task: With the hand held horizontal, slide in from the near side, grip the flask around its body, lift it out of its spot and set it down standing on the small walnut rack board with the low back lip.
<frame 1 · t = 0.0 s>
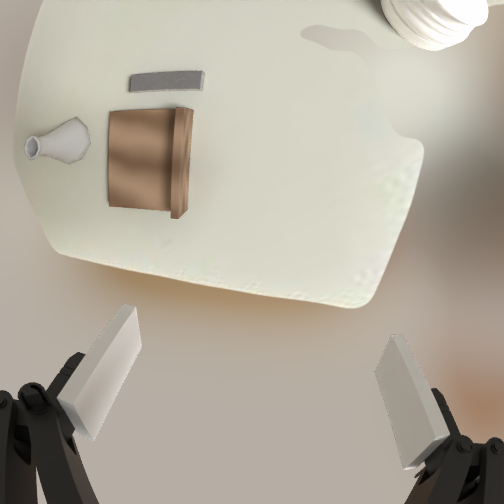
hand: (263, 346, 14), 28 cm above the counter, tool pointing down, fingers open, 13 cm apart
honey pot: (418, 14, 26), on the counter
flask: (74, 140, 37), on the counter
grey rectangular bar: (169, 82, 34), on the counter
rack: (149, 158, 38), on the counter
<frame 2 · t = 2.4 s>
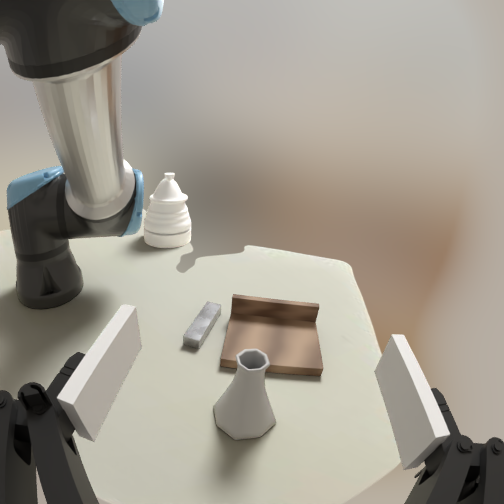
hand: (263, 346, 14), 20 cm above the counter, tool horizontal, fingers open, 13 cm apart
honey pot: (167, 239, 78), on the counter
flask: (244, 417, 31), on the counter
grey rectangular bar: (203, 329, 46), on the counter
rack: (272, 344, 43), on the counter
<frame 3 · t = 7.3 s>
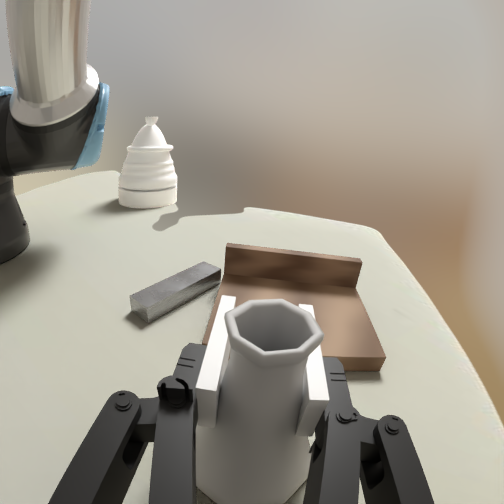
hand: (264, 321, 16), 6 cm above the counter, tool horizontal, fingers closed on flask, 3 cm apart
honey pot: (147, 201, 60), on the counter
flask: (247, 459, 13), on the counter, touching gripper
grey rectangular bar: (179, 299, 28), on the counter
rack: (291, 321, 26), on the counter
when the fingers open (9 cm above the counter, at t = 11.4 s): flask drops 1 cm, resting on rack.
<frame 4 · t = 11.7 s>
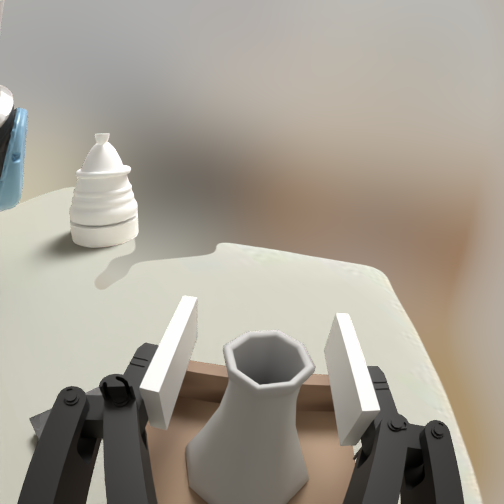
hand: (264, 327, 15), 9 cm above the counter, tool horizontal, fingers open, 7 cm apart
honey pot: (104, 234, 49), on the counter
flask: (245, 469, 14), point 1 cm above the counter, touching rack
grey rectangular bar: (97, 420, 17), on the counter
rack: (243, 475, 15), on the counter
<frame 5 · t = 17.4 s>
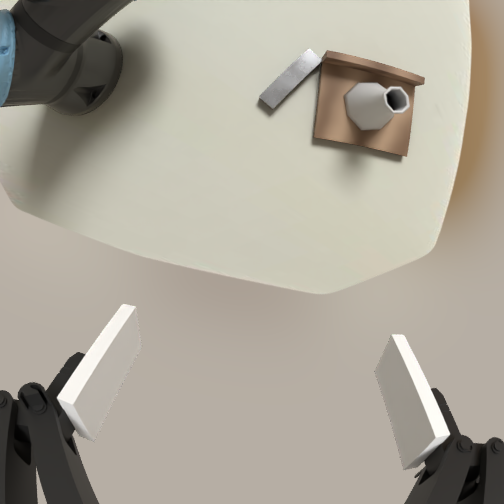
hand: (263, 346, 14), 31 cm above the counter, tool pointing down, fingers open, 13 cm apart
flask: (368, 106, 34), point 1 cm above the counter, touching rack
grey rectangular bar: (290, 79, 35), on the counter
rack: (365, 106, 36), on the counter
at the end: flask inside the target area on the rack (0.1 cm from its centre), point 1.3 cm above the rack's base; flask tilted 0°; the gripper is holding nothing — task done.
